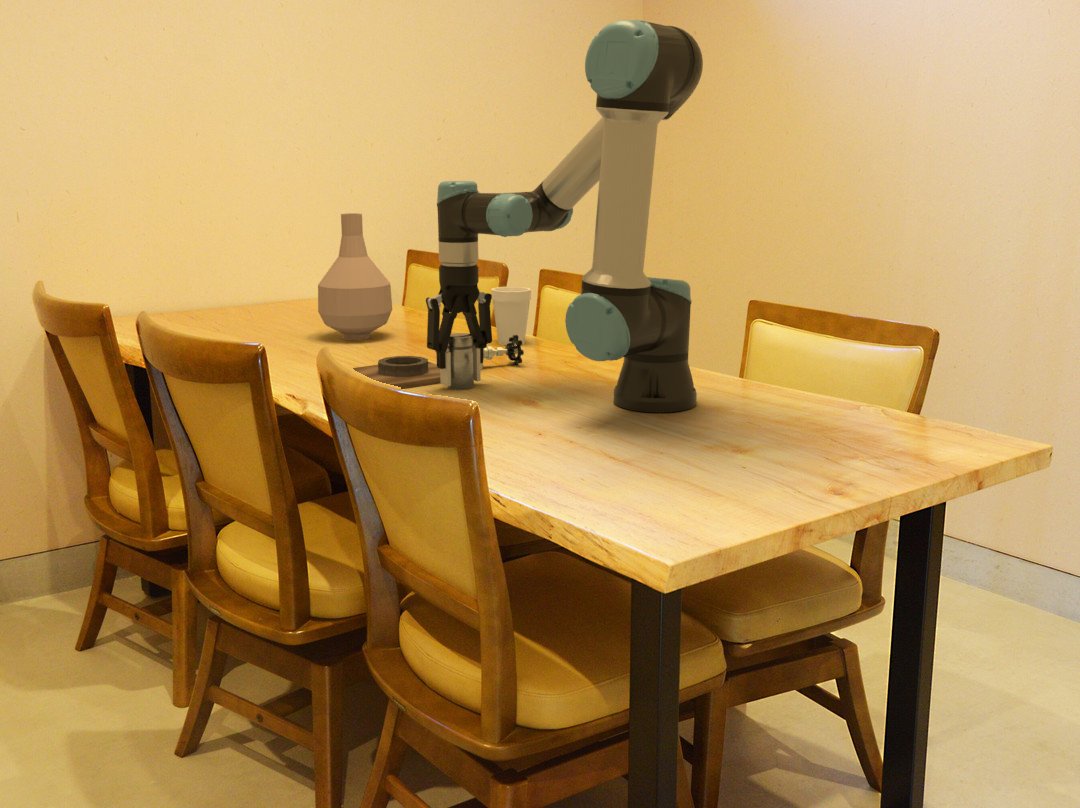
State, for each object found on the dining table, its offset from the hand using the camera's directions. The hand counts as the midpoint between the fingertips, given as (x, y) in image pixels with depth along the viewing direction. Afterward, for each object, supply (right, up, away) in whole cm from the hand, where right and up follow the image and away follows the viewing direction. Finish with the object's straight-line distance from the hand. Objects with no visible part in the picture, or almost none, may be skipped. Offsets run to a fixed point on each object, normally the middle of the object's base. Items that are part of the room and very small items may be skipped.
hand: (460, 382), depth 200 cm
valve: (+5, +3, +18) cm, 20 cm away
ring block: (-12, +1, +8) cm, 15 cm away
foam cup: (+9, +10, +45) cm, 47 cm away
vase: (-30, +12, +51) cm, 60 cm away
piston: (0, -1, 0) cm, 1 cm away
